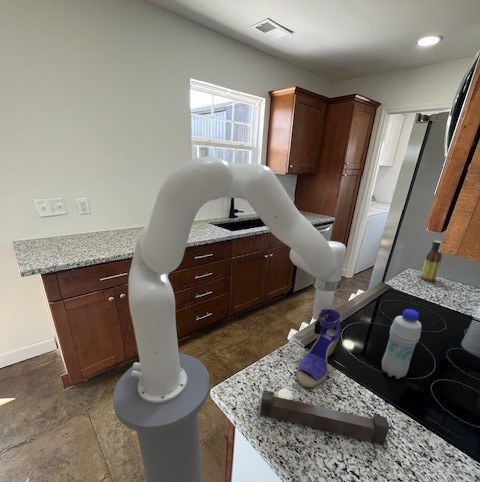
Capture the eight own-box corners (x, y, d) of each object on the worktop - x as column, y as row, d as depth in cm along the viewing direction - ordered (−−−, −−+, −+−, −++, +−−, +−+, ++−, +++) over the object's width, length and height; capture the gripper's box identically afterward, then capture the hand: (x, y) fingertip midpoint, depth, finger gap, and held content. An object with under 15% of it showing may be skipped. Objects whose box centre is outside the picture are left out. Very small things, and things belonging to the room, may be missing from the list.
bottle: (409, 372, 74) (430, 310, 66) (401, 385, 69) (423, 321, 62) (384, 360, 78) (401, 301, 70) (375, 371, 74) (392, 309, 66)
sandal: (285, 375, 72) (290, 329, 66) (323, 343, 85) (330, 303, 79) (311, 393, 67) (319, 344, 61) (348, 356, 80) (357, 313, 74)
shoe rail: (260, 414, 61) (261, 398, 59) (262, 406, 63) (263, 389, 61) (383, 445, 55) (389, 428, 53) (381, 434, 57) (386, 417, 55)
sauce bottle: (429, 277, 136) (441, 239, 128) (438, 282, 130) (451, 243, 122) (416, 277, 136) (428, 239, 128) (424, 282, 130) (437, 243, 122)
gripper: (314, 271, 87) (308, 319, 95) (313, 291, 74) (306, 344, 81) (338, 274, 86) (329, 322, 93) (342, 295, 72) (332, 349, 79)
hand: (319, 332), depth 87 cm, fingers closed
